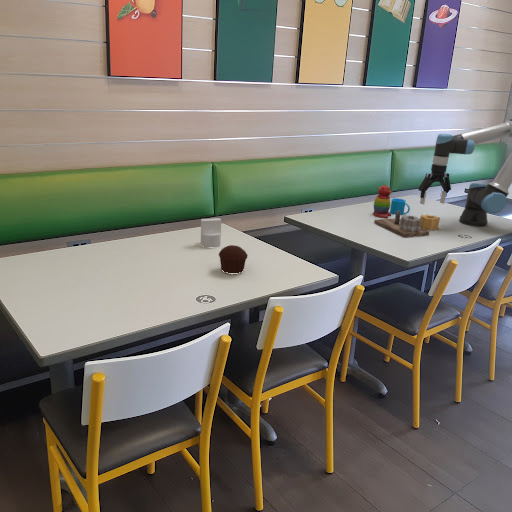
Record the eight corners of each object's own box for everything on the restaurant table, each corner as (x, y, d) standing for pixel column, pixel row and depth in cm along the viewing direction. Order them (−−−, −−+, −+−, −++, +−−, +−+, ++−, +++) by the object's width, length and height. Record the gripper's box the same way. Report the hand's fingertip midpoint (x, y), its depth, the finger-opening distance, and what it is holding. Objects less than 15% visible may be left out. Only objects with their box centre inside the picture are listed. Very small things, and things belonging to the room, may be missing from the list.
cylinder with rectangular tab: (217, 241, 237) (217, 216, 233) (223, 247, 229) (223, 221, 225) (198, 242, 234) (198, 217, 230) (203, 248, 226) (204, 222, 222)
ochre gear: (429, 224, 285) (431, 214, 282) (441, 229, 276) (443, 219, 274) (415, 225, 281) (416, 215, 279) (427, 230, 272) (429, 220, 270)
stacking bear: (386, 219, 290) (391, 188, 284) (369, 215, 295) (373, 185, 289) (392, 215, 299) (396, 185, 293) (375, 212, 304) (379, 182, 298)
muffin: (252, 271, 204) (254, 247, 200) (233, 278, 196) (234, 253, 192) (231, 263, 211) (232, 240, 208) (212, 269, 203) (212, 245, 200)
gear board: (397, 221, 287) (400, 206, 284) (428, 235, 264) (431, 218, 261) (374, 223, 281) (376, 207, 278) (403, 237, 258) (406, 220, 255)
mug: (387, 212, 304) (389, 199, 301) (394, 210, 310) (396, 197, 307) (405, 217, 297) (407, 203, 294) (411, 215, 302) (414, 201, 299)
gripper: (452, 162, 274) (445, 201, 282) (415, 162, 265) (409, 202, 272) (463, 165, 268) (454, 204, 275) (425, 165, 258) (418, 206, 266)
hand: (432, 203), depth 274 cm, fingers open, 13 cm apart
